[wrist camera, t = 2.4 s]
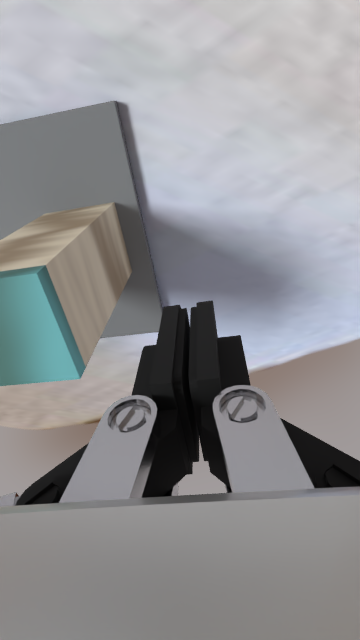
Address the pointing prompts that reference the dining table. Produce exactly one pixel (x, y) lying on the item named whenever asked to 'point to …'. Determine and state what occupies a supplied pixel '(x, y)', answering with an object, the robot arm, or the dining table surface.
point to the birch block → (58, 292)
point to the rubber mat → (80, 193)
